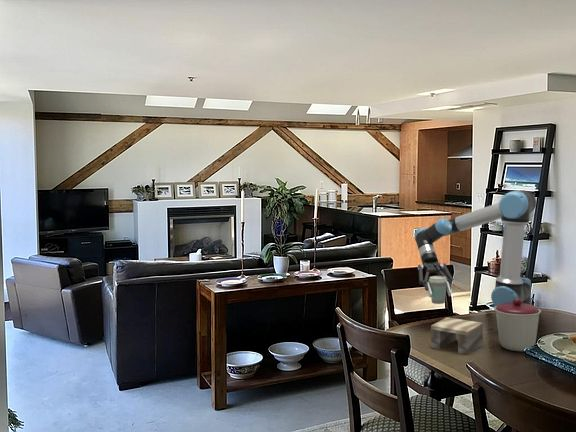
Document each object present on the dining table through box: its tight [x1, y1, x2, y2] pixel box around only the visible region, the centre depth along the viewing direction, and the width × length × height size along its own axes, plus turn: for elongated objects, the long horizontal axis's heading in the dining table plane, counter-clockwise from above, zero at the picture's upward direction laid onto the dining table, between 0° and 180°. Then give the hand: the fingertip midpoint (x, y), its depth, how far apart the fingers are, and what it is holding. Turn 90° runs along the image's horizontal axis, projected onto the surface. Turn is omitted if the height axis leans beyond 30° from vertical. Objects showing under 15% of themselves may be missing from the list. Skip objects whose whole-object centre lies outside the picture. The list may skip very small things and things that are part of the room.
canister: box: [493, 298, 542, 352], centre depth 230 cm, size 18×18×21 cm
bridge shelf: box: [430, 317, 484, 356], centre depth 235 cm, size 16×16×10 cm
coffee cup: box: [427, 275, 447, 305], centre depth 259 cm, size 8×9×12 cm
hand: (440, 295), depth 256 cm, fingers closed on coffee cup, 8 cm apart
